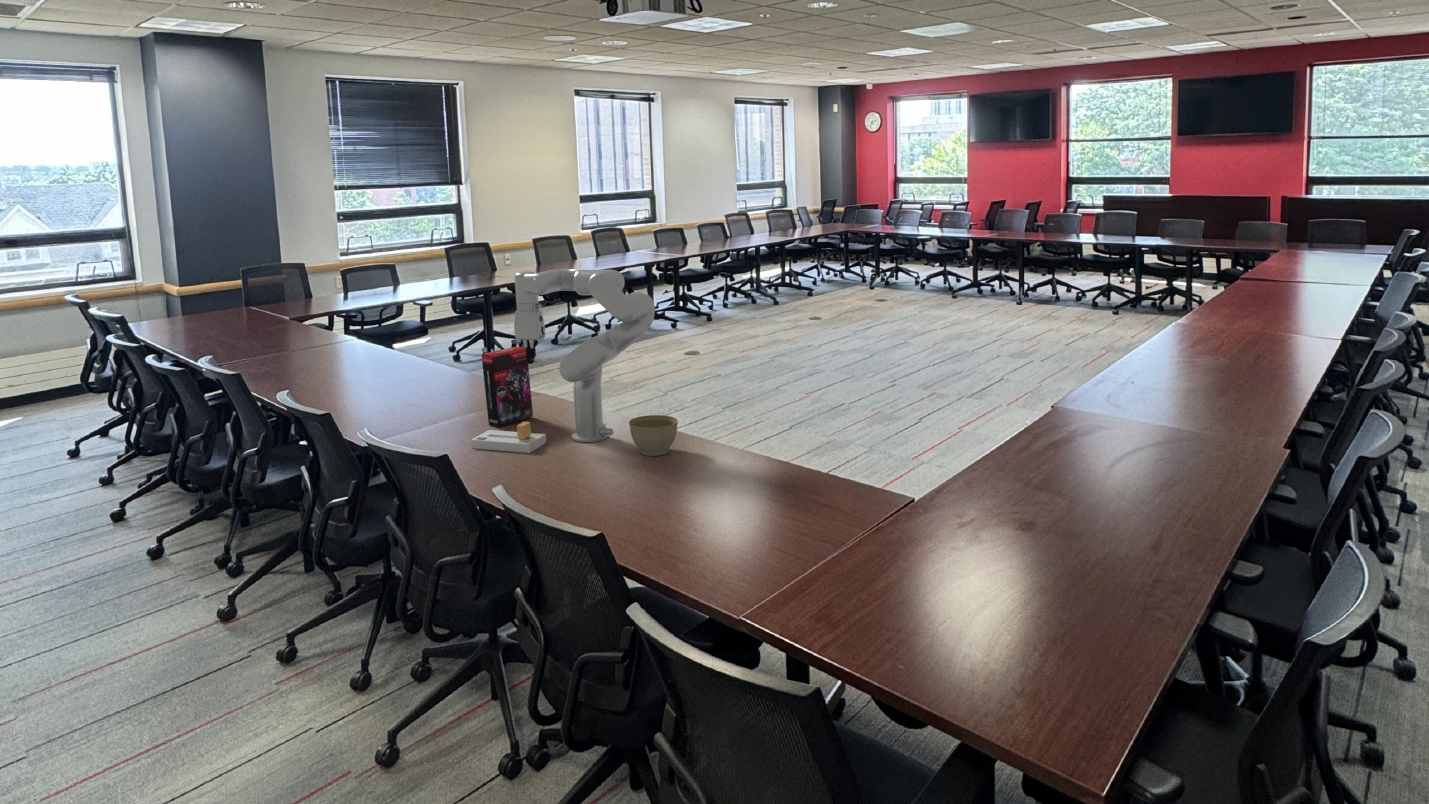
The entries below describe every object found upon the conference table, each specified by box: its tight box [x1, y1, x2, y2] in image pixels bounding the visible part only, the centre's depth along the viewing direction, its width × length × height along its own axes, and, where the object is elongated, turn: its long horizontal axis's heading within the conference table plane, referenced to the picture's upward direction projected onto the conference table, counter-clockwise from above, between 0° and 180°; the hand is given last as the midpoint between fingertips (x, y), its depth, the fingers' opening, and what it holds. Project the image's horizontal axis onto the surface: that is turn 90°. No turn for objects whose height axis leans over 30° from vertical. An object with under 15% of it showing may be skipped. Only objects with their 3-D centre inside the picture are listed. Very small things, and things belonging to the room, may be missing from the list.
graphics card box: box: [481, 345, 534, 428], centre depth 342 cm, size 17×7×27 cm, turn 143°
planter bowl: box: [628, 414, 679, 457], centre depth 305 cm, size 16×16×11 cm
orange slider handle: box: [516, 421, 532, 440], centre depth 313 cm, size 3×5×7 cm, turn 163°
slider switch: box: [471, 429, 547, 454], centre depth 316 cm, size 22×12×3 cm, turn 73°
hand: (531, 358), depth 325 cm, fingers closed
